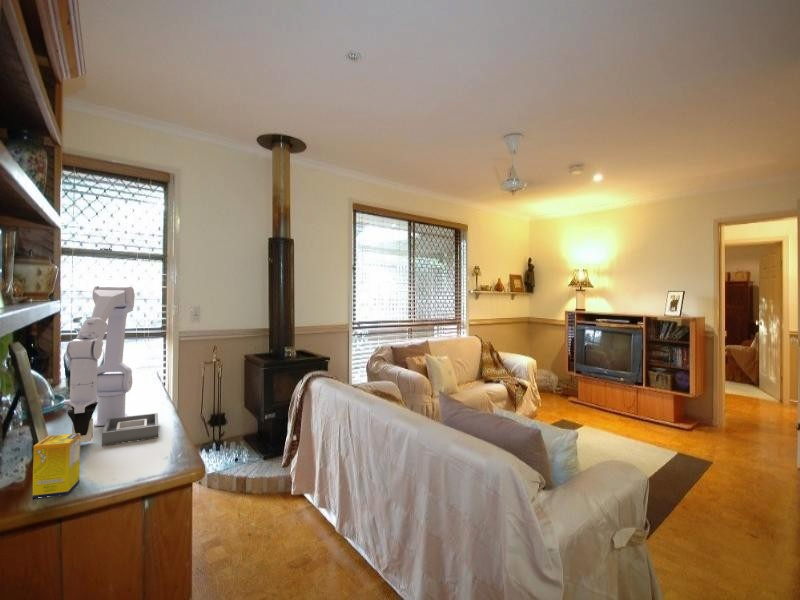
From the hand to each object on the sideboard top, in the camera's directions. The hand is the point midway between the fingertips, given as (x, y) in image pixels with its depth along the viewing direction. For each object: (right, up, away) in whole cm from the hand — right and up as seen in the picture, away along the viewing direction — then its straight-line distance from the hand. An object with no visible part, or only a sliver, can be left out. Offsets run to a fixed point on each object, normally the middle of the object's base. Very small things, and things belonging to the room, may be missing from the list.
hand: (82, 432), depth 105 cm
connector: (0, -2, 0) cm, 2 cm away
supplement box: (+14, -4, -24) cm, 28 cm away
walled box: (+7, -4, +9) cm, 12 cm away
